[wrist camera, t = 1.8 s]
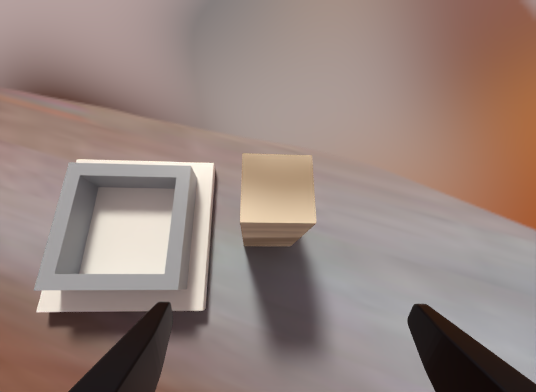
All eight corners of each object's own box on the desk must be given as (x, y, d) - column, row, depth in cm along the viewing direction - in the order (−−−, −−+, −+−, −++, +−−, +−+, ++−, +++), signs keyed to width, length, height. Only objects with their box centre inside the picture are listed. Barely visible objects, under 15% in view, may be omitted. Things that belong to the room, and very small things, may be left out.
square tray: (205, 309, 20) (195, 314, 16) (48, 310, 19) (4, 316, 16) (215, 168, 24) (209, 149, 20) (85, 165, 23) (56, 144, 20)
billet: (290, 246, 22) (316, 223, 13) (244, 246, 22) (240, 222, 13) (289, 202, 23) (311, 155, 15) (245, 201, 23) (242, 153, 15)
